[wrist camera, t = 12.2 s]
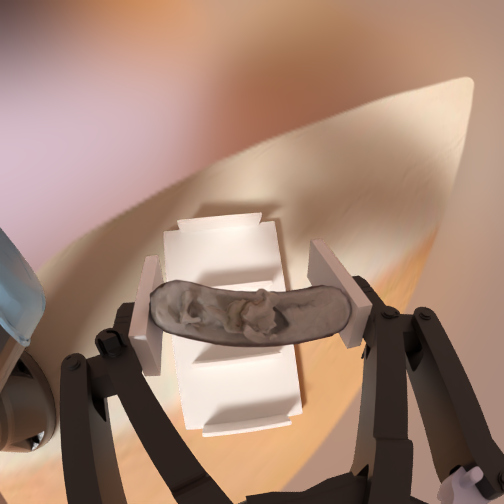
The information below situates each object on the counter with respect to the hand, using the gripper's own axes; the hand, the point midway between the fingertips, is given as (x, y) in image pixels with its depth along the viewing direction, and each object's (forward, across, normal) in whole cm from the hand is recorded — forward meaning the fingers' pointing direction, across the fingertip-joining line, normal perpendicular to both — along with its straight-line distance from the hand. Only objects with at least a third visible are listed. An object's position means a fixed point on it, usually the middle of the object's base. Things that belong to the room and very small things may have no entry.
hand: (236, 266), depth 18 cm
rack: (+9, 0, -14) cm, 16 cm away
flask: (+1, 0, -5) cm, 5 cm away
